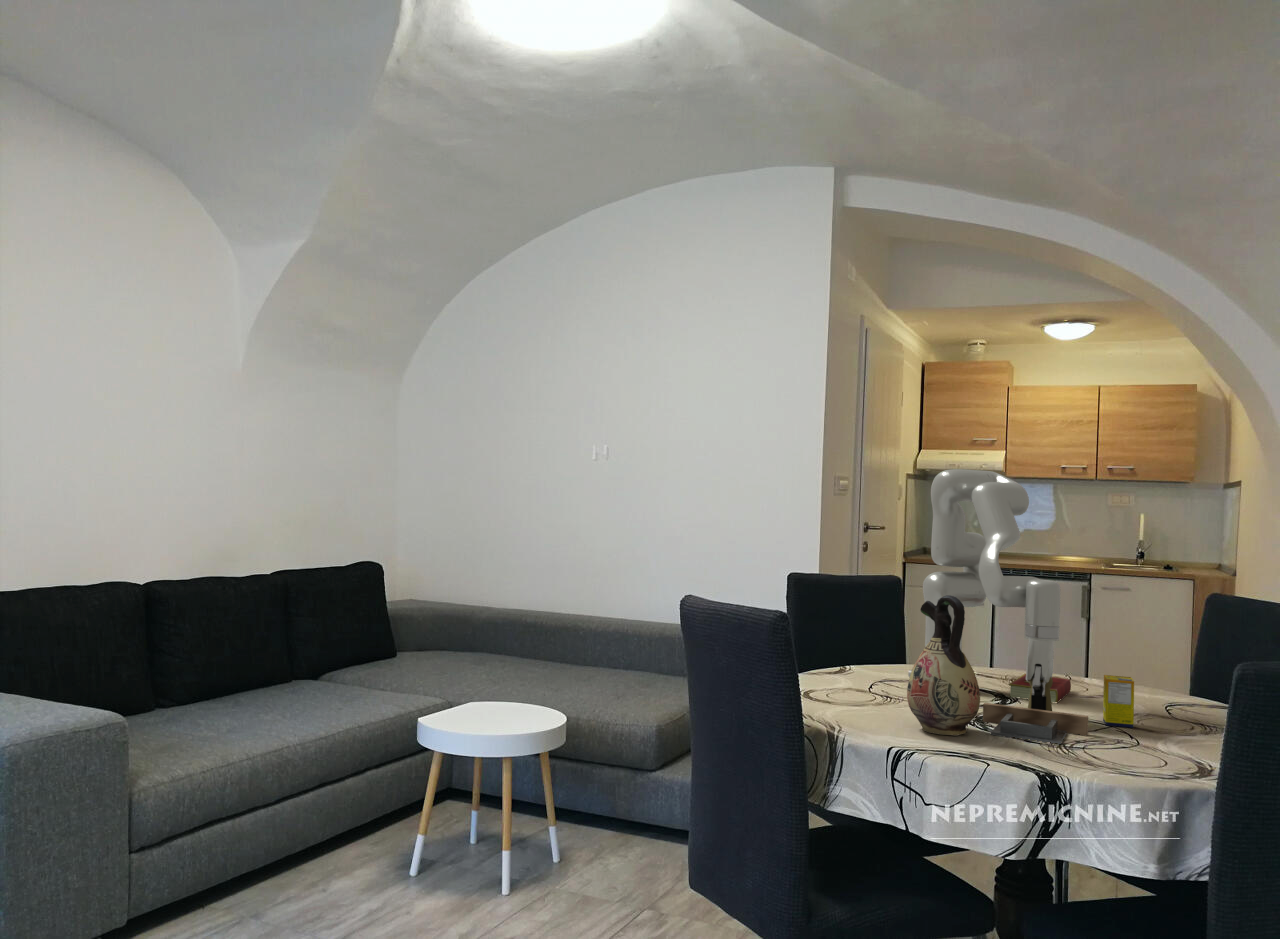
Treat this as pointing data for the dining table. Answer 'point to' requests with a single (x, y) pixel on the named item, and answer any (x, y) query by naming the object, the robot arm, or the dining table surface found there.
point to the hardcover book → (1056, 691)
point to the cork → (1047, 693)
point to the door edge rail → (1036, 717)
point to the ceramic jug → (944, 675)
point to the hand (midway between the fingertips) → (1039, 710)
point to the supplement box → (1118, 701)
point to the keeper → (1029, 730)
